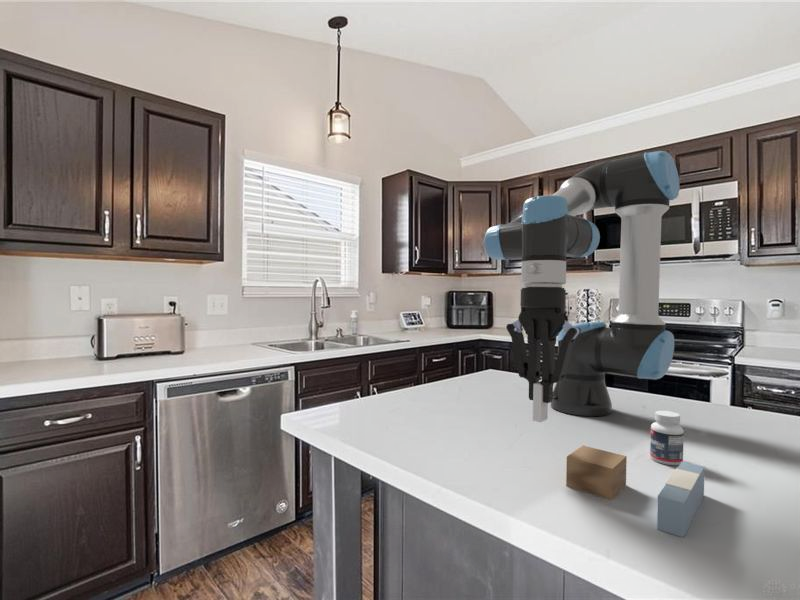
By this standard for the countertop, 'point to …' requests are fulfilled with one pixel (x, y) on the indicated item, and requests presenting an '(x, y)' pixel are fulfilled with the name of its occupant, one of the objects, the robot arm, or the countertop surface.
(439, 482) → the countertop surface
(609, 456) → the walnut block
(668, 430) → the pill bottle
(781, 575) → the countertop surface
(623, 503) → the countertop surface
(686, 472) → the blue and cream block
